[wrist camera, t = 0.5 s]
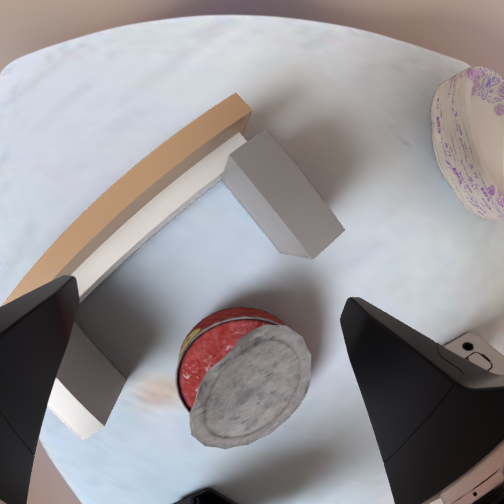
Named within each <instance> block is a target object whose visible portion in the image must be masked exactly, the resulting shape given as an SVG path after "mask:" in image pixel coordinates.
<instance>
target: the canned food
mask: <svg viewBox="0 0 504 504" xmlns="http://www.w3.org/2000/svg"><path fill="white" fill-rule="evenodd" d="M310 379H311V353H310V351H309V349H308V348H307V346H306V343H305V341H304V339H303V336H301V335H299V334H298V333H296V332H295V331H293V330H292V329H290V328H289V327H288V326H286V325H285V324H284V323H283V322H282V321H280V320H279V319H278V318H276V317H275V316H273V315H271V314H269V313H267V312H265V311H261V310H257V309H253V308H241V307H239V308H231V309H225V310H222V311H219V312H216V313H214V314H212V315H210V316H208V317H206V318H205V319H203V320H202V321H201V322H199V323H198V324H197V325H196V326H195V327H194V328H193V329H192V330H191V331H190V333H189V334H188V335H187V336H186V338H185V340H184V342H183V344H182V346H181V350H180V354H179V359H178V365H177V369H176V388H177V392H178V396H179V398H180V400H181V402H182V404H183V406H184V407H185V409H186V410H187V411H188V412H189V416H190V429H191V435H192V436H193V437H195V438H196V439H197V440H199V441H200V442H201V443H202V444H203V445H204V446H209V447H218V448H223V449H227V448H232V447H236V446H242V445H248V444H250V443H252V442H254V441H256V440H258V439H260V438H262V437H264V436H266V435H269V434H271V433H272V432H273V431H274V430H275V429H276V428H277V427H278V426H279V425H281V424H282V423H283V422H285V421H286V420H287V419H288V418H290V416H291V415H292V413H293V412H294V411H295V410H296V409H297V408H298V407H299V406H300V404H301V402H302V401H303V399H304V398H305V396H306V393H307V391H308V388H309V385H310Z"/></svg>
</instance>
